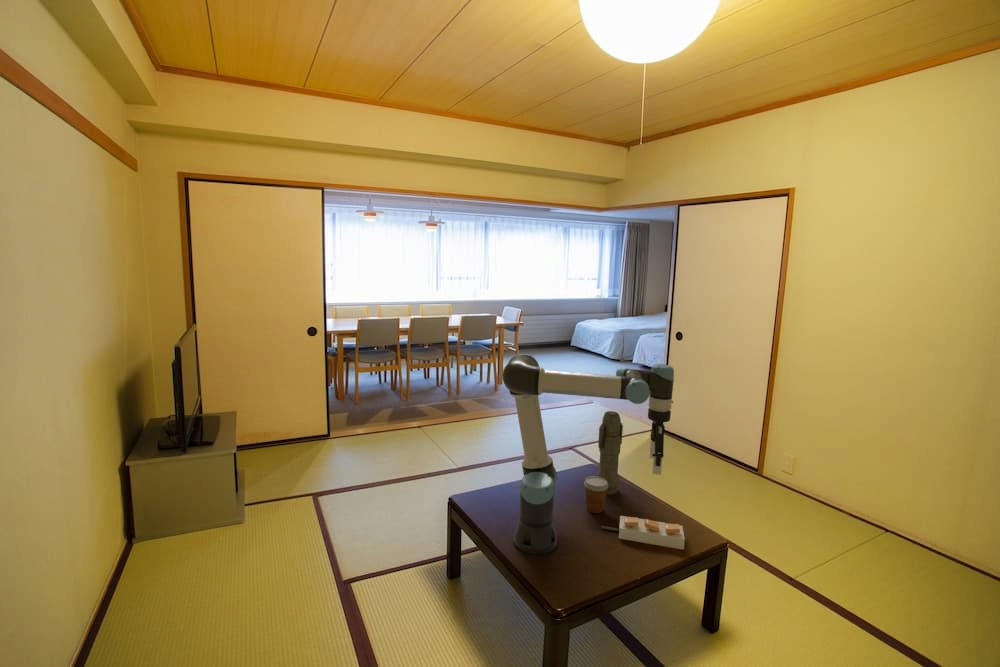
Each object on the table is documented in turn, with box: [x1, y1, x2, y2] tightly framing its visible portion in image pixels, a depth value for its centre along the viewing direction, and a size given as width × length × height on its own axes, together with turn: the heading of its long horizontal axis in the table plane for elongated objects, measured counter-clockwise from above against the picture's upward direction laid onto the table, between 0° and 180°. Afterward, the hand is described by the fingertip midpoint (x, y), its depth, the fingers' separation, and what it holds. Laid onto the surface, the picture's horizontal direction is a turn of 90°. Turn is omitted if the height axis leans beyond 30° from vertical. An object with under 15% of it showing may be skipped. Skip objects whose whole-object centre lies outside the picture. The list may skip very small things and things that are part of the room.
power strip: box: [601, 515, 686, 550], centre depth 172 cm, size 28×9×5 cm, turn 74°
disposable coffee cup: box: [583, 475, 608, 514], centre depth 189 cm, size 10×10×12 cm
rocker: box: [665, 523, 680, 533], centre depth 167 cm, size 5×3×2 cm
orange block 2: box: [644, 518, 659, 532], centre depth 169 cm, size 5×3×2 cm
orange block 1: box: [624, 516, 639, 526], centre depth 171 cm, size 5×3×2 cm
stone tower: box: [597, 410, 624, 496], centre depth 204 cm, size 9×12×35 cm
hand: (654, 466), depth 169 cm, fingers open, 13 cm apart
